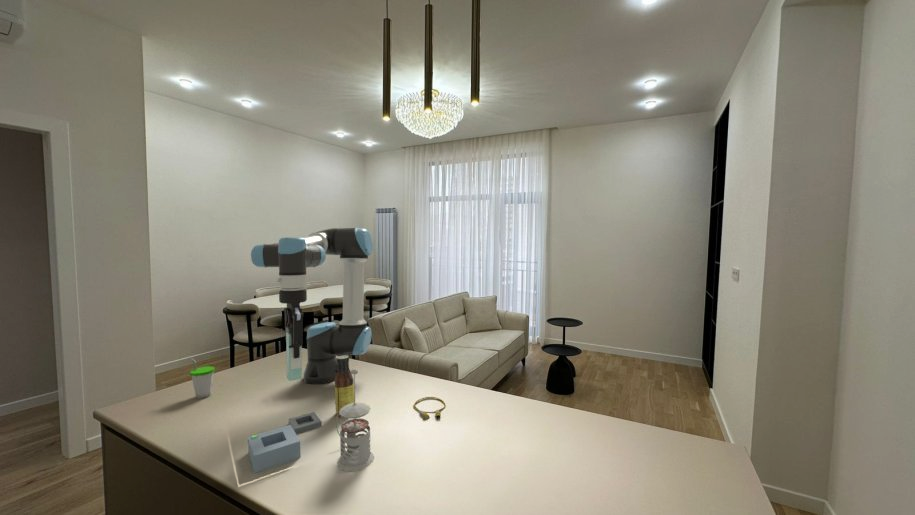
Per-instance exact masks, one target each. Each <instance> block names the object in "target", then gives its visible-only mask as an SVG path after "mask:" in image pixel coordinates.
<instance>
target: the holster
mask: <svg viewBox="0 0 915 515" xmlns="http://www.w3.org/2000/svg"><path fill="white" fill-rule="evenodd" d="M287 420H288V421H287V422H288V425H291V426H292V428H293V429H294V431H295V433H296V435H297V434H301V433H304V432H308V431H310V430H314V429H317V428H321V427H322V420H321V419H320V417H319V415H317V413H316V412H315V411H312V412H309V413H305V414H302V415H299V416H293V417H290V418H288V419H287Z"/></svg>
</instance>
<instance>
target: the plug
mask: <svg viewBox="0 0 915 515" xmlns="http://www.w3.org/2000/svg"><path fill="white" fill-rule="evenodd" d="M285 342H286V346H285V347H286V349H285V350H286V352H285V353H286V355H285V356H286V379H287V380H288V381H289V382H292V381H296V380H301V379H303V359H302V358H303V357H302V356H303V355H302V353H303V352H302V348H303V345H302V346H301V368H297V369H292V370H291V354H290V348H289V346H291V328H290V327H286V339H285Z"/></svg>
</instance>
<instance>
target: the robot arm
mask: <svg viewBox="0 0 915 515" xmlns="http://www.w3.org/2000/svg"><path fill="white" fill-rule="evenodd" d="M373 249H374V244H373V238H372V236H371V233H370V232H369V231H368V229H366V228H364V227H363V228H360V227H352V228H351V227H346V228H345V227H342V228H341V227H340V228H335V227H333V228H328V229H327V228H326V229H324V230H320V231H315V232H312V233H310V234H308V235H307V236H304V237H303V236H302V237H281V238H279V240H278V242H275V243H270V244H268V243H267V244H266V243H262V244H256V245H254V246H253V248H252V249H251V251H250V257H251V258H250V261H251V263H252V264H253V265H254V266H256V267H258V268H278V275H279V276H278V278H277V279H276V281H277V282H278V287H279V289H280V290H279V291H278V301H279V303H281V304H285V305H286V307H284V309H283V312H284V336H285V338H284V339H285V340H286V327H290V328H291V346H289V348H290V354H291V370H292V369H297V368H301V346H302V347H303V344H304V337H303V336H304V334H303V333H304V329H303V328H304V326H303V325H304V323H303V322H304V315H305V314H304V312H303V311H302V307H301V303H305V302H306V301H307V300H308V299H307V298H308V296H307V292H308V291H307V289H306V288H307V286H308V284H307V283H308V278H307V276H308V275H307V268H316V267H319V266H322V265H323V263H324V262H325V260H326V256H327V255H331V256H332V255H333V256H339V260H340V261H341V262H343V273H342V274H343V278H342V280H343V285H342V287H343V288H342V291H343V292H342V319H341V320H340V322H338V326H337V324H336V322H334V321H333V322H332V321H331V322H330V321H329V322H321V323H318V324H314V325H311V326H309V328H307V332H306V348H307V352H306V353H307V362H306V365H305V369H304V372H303V382H305V383H306V384H311V385H312V384H314V385H315V384H316V385H317V384H318V385H319V384H326V383H330V382H331V383H332V382H333V381H334V382H335V376H336V374H337V371H338V370H337V369H338V366H337V355H347V356H349V355H350V356H351V355H352V356H357V355H358V356H359V355H364V354H365V353H367V352H368V349H369V347H370V346H371V345H370V344H371V342H372V335H373V334H372V328H371V327H369V326H368V321H366V320H365V317H364V306H365V305H364V304H365V303H364V302H365V300H364V298H365V290H364V289H365V263H366V262H367V261H368V260H369V256H371V255H372V254H373Z"/></svg>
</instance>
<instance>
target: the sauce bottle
mask: <svg viewBox="0 0 915 515" xmlns="http://www.w3.org/2000/svg"><path fill="white" fill-rule="evenodd" d="M336 359H337V366H338V369H337V370H338V371H337V374H336V376H335V380H334V400H335V413H336V414H335V415H336V416H337V415H338V414H339V411H340V409H341V408H343V407H344V406H345V405H348V404H351V403H354V376H353V374H351V369H350V364H349V362H350V356H349V355H347V354H342V355H339V356H336ZM338 418H341V415H340V414H339V416H338Z"/></svg>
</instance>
